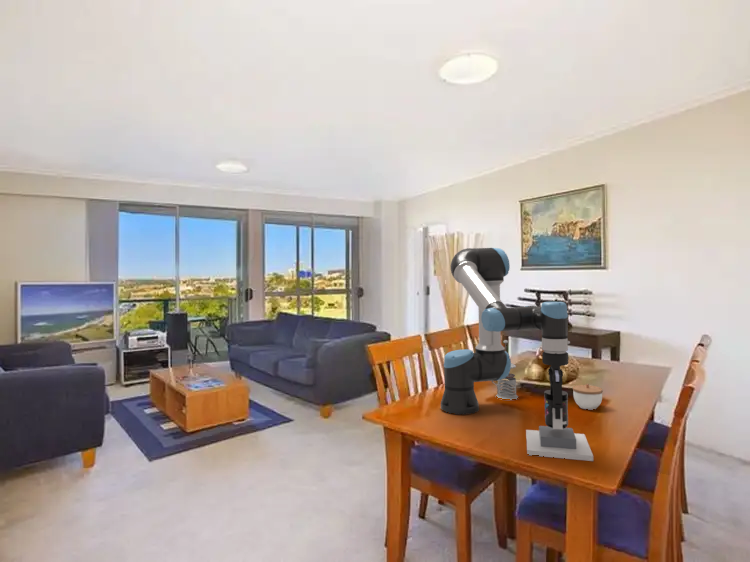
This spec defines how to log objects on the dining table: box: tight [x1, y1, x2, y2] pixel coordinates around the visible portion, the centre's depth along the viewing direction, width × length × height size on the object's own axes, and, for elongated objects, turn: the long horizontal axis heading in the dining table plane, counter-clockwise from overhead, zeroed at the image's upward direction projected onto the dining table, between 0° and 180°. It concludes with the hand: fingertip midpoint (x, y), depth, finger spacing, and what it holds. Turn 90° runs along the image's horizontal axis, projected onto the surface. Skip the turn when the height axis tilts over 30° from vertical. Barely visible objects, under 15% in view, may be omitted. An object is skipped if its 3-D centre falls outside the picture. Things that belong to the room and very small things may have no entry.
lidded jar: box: [572, 383, 604, 411], centre depth 179 cm, size 11×11×9 cm
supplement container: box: [543, 389, 569, 428], centre depth 140 cm, size 7×7×10 cm
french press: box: [491, 339, 519, 401], centre depth 197 cm, size 10×12×25 cm
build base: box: [525, 425, 594, 462], centre depth 140 cm, size 18×18×4 cm
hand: (556, 424), depth 140 cm, fingers closed on supplement container, 7 cm apart
